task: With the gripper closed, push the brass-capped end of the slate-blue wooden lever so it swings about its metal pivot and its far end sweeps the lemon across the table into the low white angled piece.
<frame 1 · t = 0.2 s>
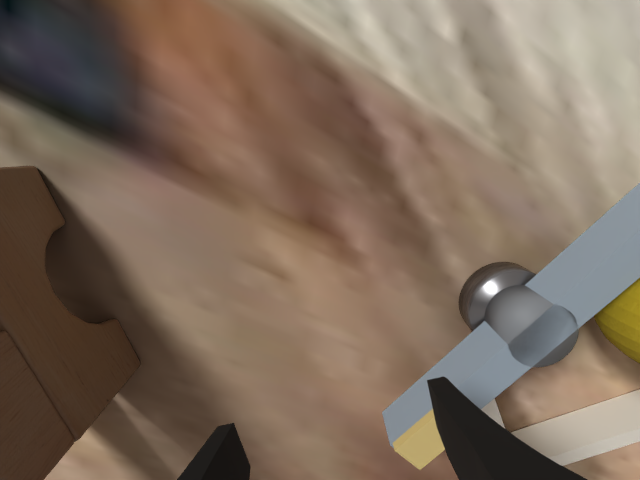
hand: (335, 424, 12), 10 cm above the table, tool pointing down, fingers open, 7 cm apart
white angled piece: (553, 374, 23), on the table
wooden toy: (55, 298, 22), on the table
lemon: (603, 286, 22), on the table
lever: (531, 326, 19), point 4 cm above the table, hinge at 0.0°
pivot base: (498, 299, 22), on the table
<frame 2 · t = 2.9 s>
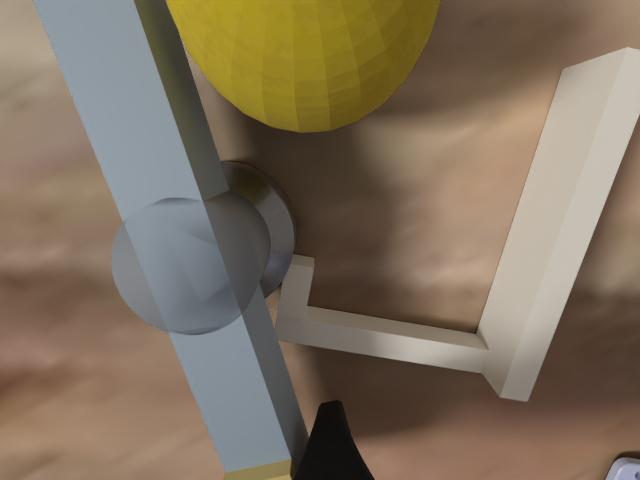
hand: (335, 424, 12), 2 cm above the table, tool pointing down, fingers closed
white angled piece: (420, 210, 13), on the table
lemon: (310, 52, 12), on the table
lever: (198, 257, 10), point 3 cm above the table, hinge at -0.1°, touching gripper
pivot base: (229, 230, 13), on the table
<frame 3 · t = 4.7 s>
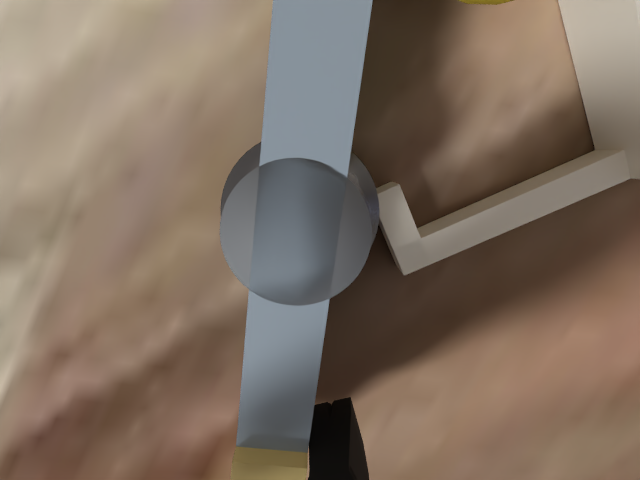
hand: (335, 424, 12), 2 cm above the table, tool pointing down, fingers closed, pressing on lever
white angled piece: (461, 68, 12), on the table
lever: (298, 226, 9), point 3 cm above the table, hinge at -56.8°, touching gripper, lemon
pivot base: (302, 206, 13), on the table
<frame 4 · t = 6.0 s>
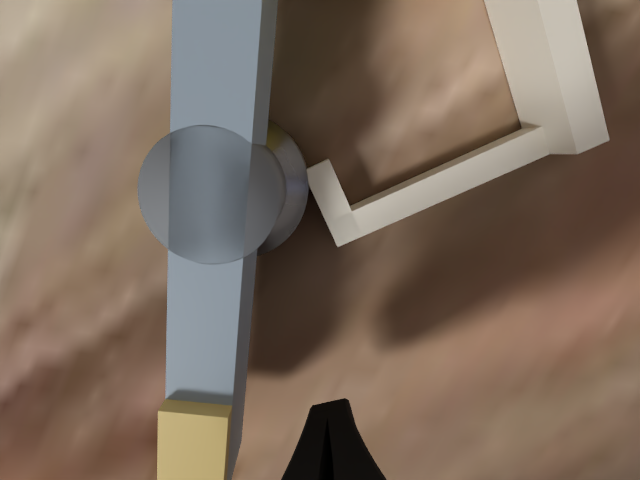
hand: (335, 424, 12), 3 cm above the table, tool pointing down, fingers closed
white angled piece: (389, 49, 12), on the table
lever: (219, 193, 10), point 4 cm above the table, hinge at -56.6°, touching lemon
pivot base: (244, 182, 13), on the table
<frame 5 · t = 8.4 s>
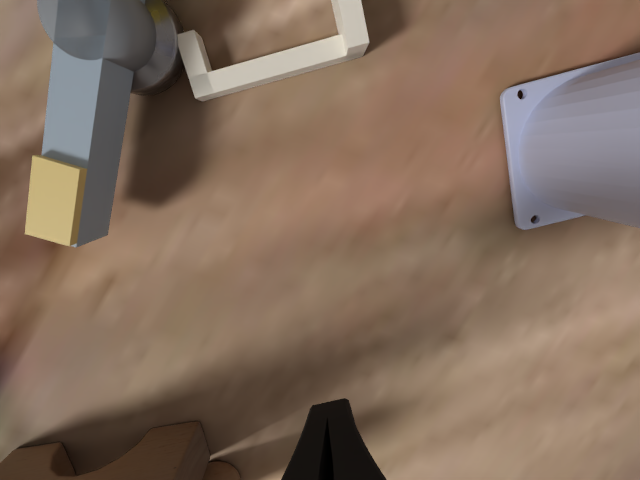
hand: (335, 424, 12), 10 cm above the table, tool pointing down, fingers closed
wooden toy: (133, 466, 25), on the table
lever: (98, 20, 15), point 4 cm above the table, hinge at -56.6°, touching lemon
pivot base: (139, 44, 18), on the table
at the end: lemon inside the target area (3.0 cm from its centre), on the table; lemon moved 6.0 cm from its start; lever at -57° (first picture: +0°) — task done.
